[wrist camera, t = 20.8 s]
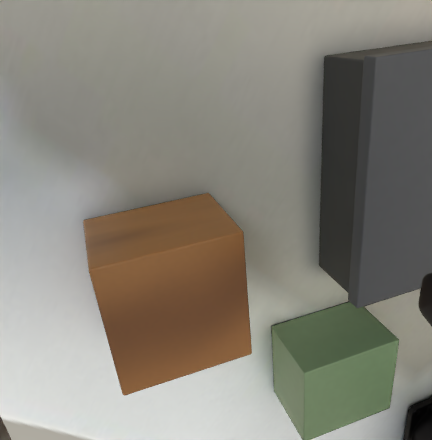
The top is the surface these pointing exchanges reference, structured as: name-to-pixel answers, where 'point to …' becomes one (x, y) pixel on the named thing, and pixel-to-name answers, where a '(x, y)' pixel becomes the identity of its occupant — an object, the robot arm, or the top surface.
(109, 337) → the oak box
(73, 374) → the top surface
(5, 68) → the top surface
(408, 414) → the robot arm
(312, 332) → the sage box
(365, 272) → the storage box
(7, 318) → the top surface
